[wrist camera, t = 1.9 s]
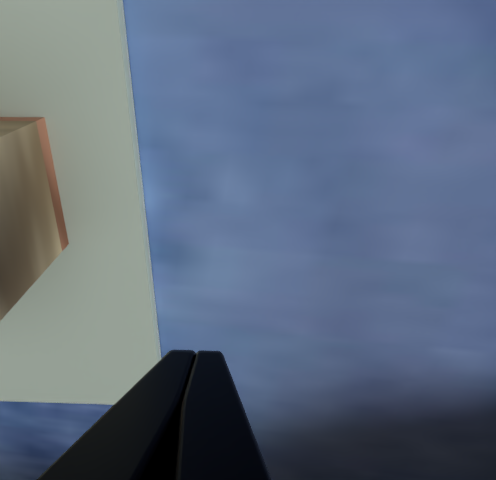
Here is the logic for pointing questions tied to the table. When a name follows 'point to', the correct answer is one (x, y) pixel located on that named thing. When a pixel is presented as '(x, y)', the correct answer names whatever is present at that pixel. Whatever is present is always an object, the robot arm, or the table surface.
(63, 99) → the sage mat
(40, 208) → the maple block
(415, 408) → the table surface
